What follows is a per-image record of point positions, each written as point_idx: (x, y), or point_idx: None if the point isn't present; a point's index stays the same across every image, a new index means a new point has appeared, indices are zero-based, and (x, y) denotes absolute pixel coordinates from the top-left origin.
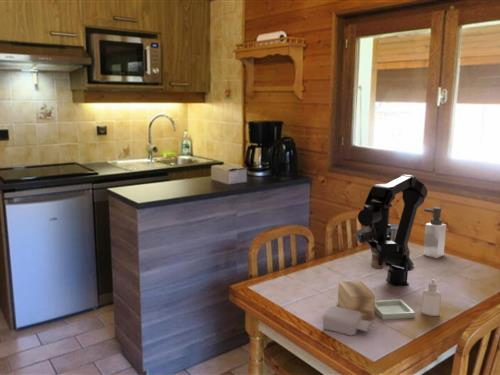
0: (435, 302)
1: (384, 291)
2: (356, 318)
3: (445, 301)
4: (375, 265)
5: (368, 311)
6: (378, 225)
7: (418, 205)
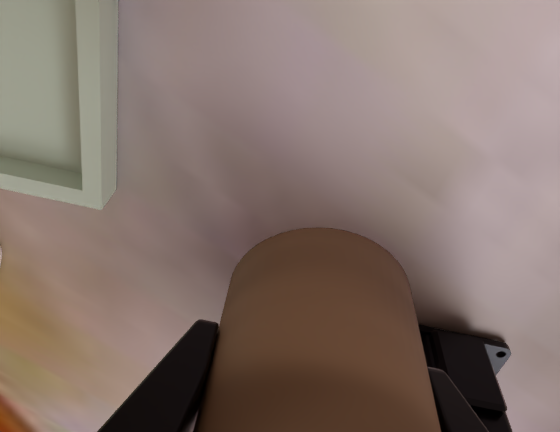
0: None
1: (348, 220)
2: None
3: (114, 399)
4: (256, 283)
5: None
6: None
7: None
